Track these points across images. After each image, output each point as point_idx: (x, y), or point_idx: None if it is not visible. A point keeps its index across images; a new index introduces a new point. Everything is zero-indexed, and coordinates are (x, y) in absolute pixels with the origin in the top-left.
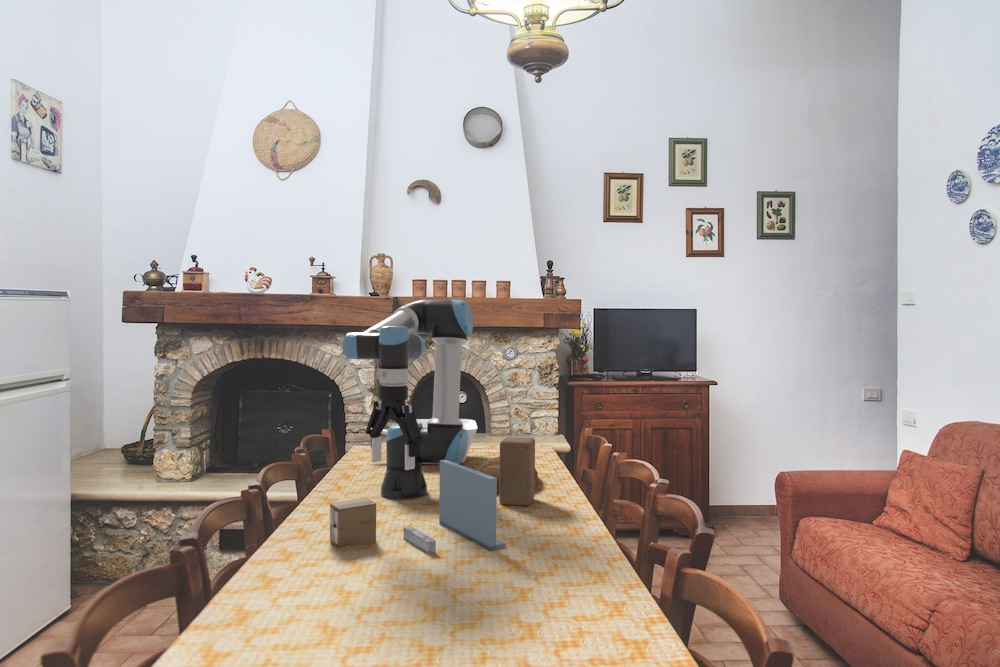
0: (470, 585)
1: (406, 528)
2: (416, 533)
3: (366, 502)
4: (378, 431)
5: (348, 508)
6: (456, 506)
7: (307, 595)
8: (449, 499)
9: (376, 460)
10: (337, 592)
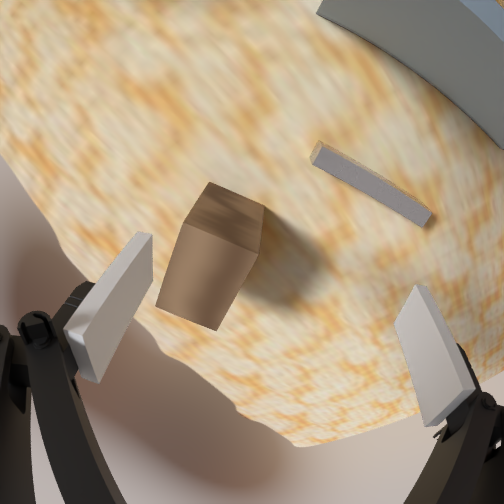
0: (495, 286)
1: (326, 170)
2: (371, 191)
3: (226, 261)
4: (80, 406)
5: (225, 314)
6: (431, 58)
7: (323, 386)
8: (397, 29)
9: (149, 268)
10: (351, 371)
